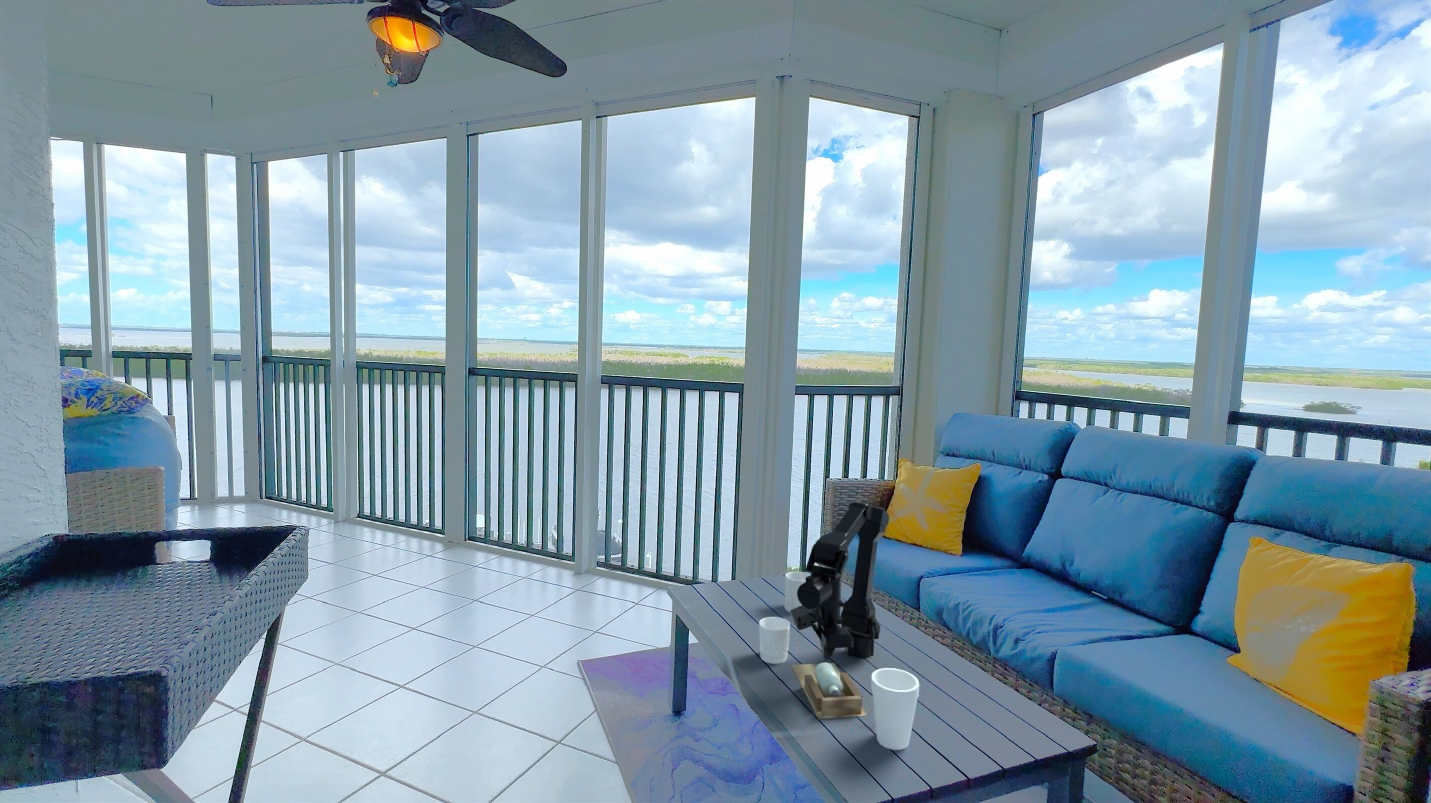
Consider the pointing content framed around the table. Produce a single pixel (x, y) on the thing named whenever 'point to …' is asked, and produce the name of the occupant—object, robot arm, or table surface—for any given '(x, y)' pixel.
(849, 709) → the cradle board
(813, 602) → the robot arm
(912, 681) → the foam cup
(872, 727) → the table surface
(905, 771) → the table surface
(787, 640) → the white cup
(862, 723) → the table surface
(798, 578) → the mug
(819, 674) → the bottle
